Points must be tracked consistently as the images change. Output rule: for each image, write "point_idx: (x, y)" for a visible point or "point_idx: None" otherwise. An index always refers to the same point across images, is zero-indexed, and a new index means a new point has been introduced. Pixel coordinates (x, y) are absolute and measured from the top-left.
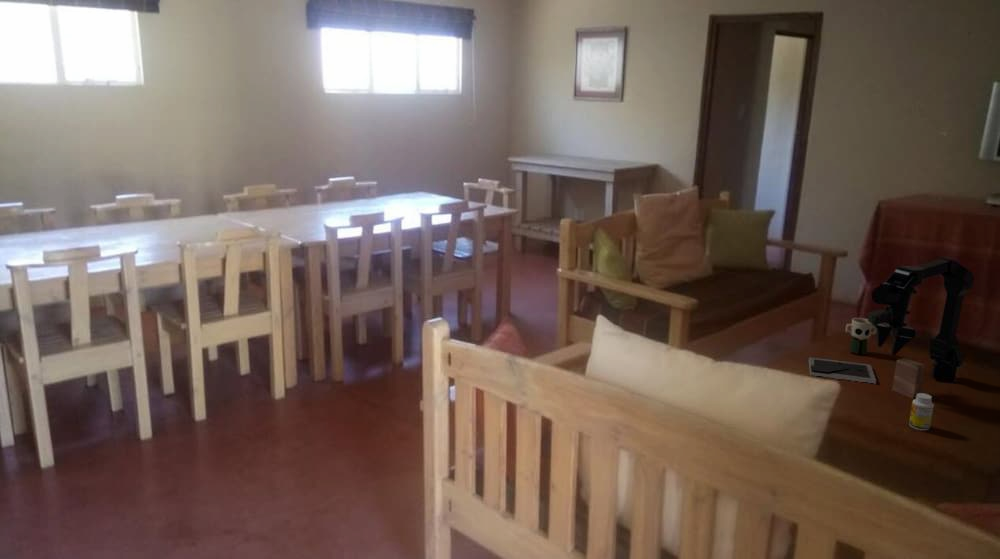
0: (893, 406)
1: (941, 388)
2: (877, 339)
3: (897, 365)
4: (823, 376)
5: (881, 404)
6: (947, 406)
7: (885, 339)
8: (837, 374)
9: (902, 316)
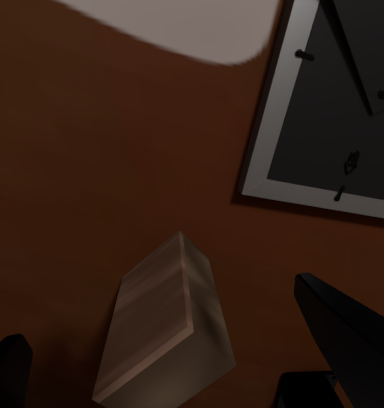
0: (7, 189)
1: None
2: (369, 313)
3: (178, 307)
4: None
5: (10, 146)
6: (80, 351)
7: (345, 389)
8: (302, 23)
9: None
